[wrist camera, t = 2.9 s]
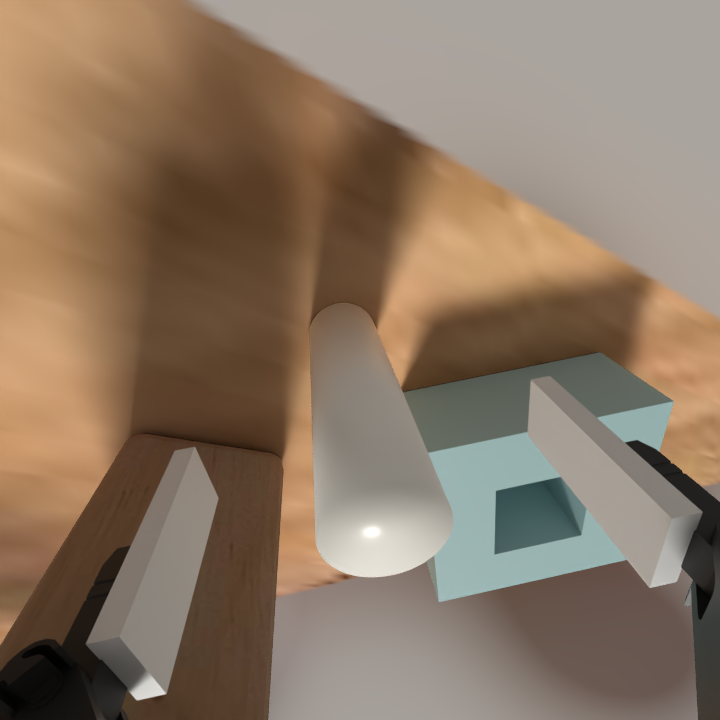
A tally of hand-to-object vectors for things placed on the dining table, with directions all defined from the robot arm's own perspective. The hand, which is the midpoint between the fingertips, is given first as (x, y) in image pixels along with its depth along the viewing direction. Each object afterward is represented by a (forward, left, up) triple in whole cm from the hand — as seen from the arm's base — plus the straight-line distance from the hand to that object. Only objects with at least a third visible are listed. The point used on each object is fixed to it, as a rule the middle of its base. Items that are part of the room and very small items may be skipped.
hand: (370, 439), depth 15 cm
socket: (+12, +10, -10) cm, 18 cm away
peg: (0, 0, -10) cm, 10 cm away
